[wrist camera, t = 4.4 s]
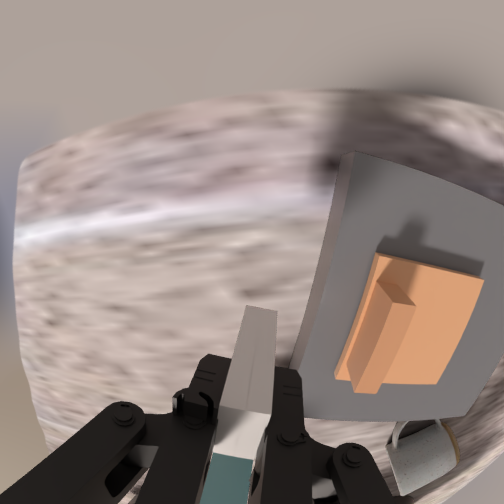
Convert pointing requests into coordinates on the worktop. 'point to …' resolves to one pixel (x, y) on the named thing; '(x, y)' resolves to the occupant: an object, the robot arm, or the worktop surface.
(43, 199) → the worktop surface
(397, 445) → the ceramic mug
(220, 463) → the teal plug
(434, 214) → the socket block
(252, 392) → the robot arm
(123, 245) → the worktop surface
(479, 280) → the terracotta shutter
